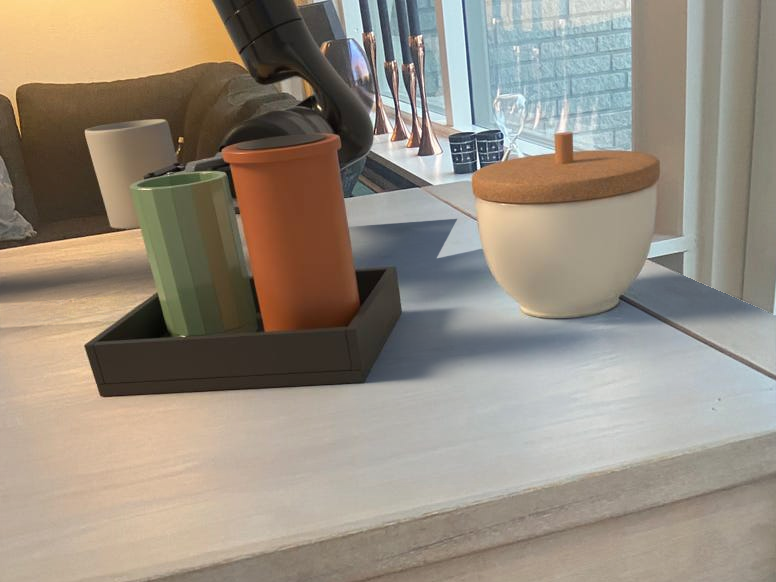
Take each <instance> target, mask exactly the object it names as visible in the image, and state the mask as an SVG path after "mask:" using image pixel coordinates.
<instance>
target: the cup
mask: <svg viewBox="0 0 776 582" xmlns="http://www.w3.org/2000/svg"><path fill="white" fill-rule="evenodd" d="M130 191H131V195H132V198H133V202H134V206H135V210H136V213H137V217H138V221H139V225H140V228H139V229H140V232H141V236H142V239H143V243H144V247H145V250H146V251H145V252H146V254H147V258H148V261H149V266H150V270H151V273H152V278H153V282H154V284H155V289H156V292H158V296H159V300H160V304H161V307H162V311H163V315H164V319H165V322H166V326H167V330H168V333H169V336H170V337H185V336H201V335H218V334H234V333H251V332H256V331H257V330H258V328H259V325H258V321H257V314H256V309H255V304H254V300H253V295H252V290H251V285H250V281H249V272H248V267H247V261H246V258H245V253H244V248H243V244H242V238H241V234H240V229H239V224H238V219H237V217H236V216H237V215H236V211H235V210H236V209H235V207H234V205H233V201H232V196H231V191H230V186H229V182H228V177H227V174H226V173H225V172H219V171H200V172H188V173H179V174H172V175H165V176H160V177H154V178H150V179H146V180H142V181H138V182H136V183H133V184H131V185H130Z"/></svg>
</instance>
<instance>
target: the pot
mask: <svg viewBox="0 0 776 582" xmlns="http://www.w3.org/2000/svg"><path fill="white" fill-rule="evenodd" d="M340 148H341V141H340V136H339V135H335V134H299V135H287V136H278V137H270V138H264V139H258V140H252V141H247V142H242V143H238V144H234V145H230V146H227V147H225V148H223V149H222V155H223V159H224V161H225V162H227V163H230V168H231V172H232V177H233V182H234V187H235V191H236V196H237V201H238V206H239V208H238V210H239V214H240V215H239V216H240V219H241V224H242V228H243V233H244V238H245V243H246V248H247V253H248V257H249V258H248V259H249V262H250V268H251V272H252V276H253V277H254V282H255V287H256V291H257V296H258V301H259V306H260V311H261V315H262V320H263V325H264V330H265V332H267V331H284V330H300V329H317V328H333V327H348V326H349V324H350V323H351V321H352V320H353V318H354V317H355V315H356V314H357V312H358V311H359V309H360V308H361V307H360V300H359V293H358V287H357V280H356V274H355V269H356V267H355V262H354V261H355V260H354V255H353V247H352V240H351V235H350V228H349V222H348V215H347V214H348V213H347V209H346V208H347V207H346V201H345V195H344V189H343V188H344V187H343V181H342V175H341V170H340V168H339V162H338V155H337V150H338V149H340Z"/></svg>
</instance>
